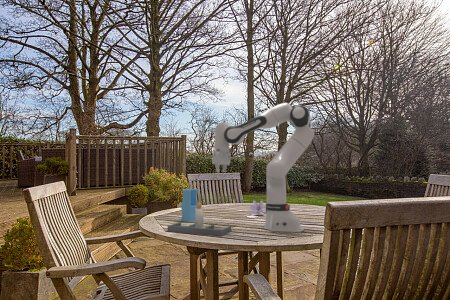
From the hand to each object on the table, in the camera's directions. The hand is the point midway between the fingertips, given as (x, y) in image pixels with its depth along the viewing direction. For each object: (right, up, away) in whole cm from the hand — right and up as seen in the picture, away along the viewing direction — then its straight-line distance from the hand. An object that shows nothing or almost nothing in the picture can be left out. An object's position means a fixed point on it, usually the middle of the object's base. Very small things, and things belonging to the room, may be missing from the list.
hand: (221, 172), depth 216 cm
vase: (-20, -32, +12) cm, 40 cm away
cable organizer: (-11, -31, -23) cm, 40 cm away
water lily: (+26, -33, +38) cm, 56 cm away
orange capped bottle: (-11, -29, -23) cm, 39 cm away
